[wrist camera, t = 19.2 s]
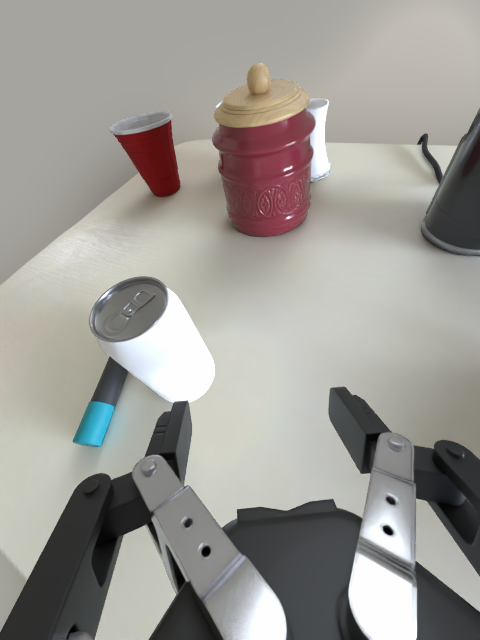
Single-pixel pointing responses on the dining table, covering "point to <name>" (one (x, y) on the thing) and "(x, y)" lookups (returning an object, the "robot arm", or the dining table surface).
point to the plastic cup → (151, 149)
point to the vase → (318, 139)
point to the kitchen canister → (265, 153)
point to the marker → (101, 406)
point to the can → (153, 338)
